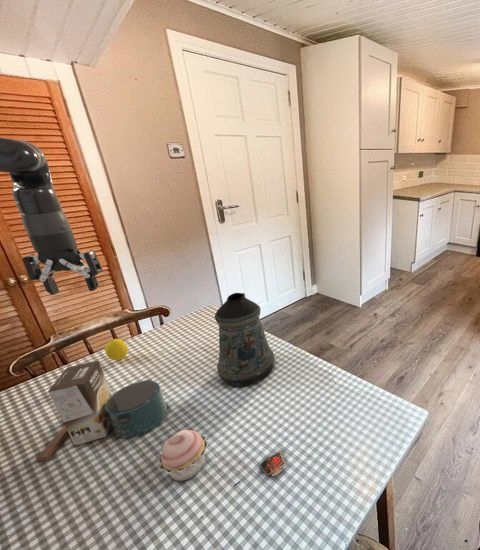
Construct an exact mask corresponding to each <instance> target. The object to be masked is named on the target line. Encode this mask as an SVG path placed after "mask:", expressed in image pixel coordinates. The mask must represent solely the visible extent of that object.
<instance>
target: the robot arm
mask: <svg viewBox="0 0 480 550" xmlns="http://www.w3.org/2000/svg"><path fill="white" fill-rule="evenodd" d="M0 172H1V173H6V174H8V175H9V177H10V180H11V182H12V184H13V188H12V189H11V193H12V199H13V200H14V203H15V205H16V207H17V210H18V213H19V214H20V217H21V222H22V225H23V228H24V229H25V232H26V235H27V236H28V239H29V241H30V244H31V246H32V248H33V250H34V252H35V253H36V254H34V253H32V254H28V255H25V256H24V257H22V262H23V264H24V267H25V270H26V273H27V275H28V278H29V279H30V280H31V281H40V282H41V283H42V285H43V287H44V289H45V291H46V292H47V293H48V294H49V295H50V296H53V295H56V294H58V293H60V290H59V287H58V285H57V282H56V279H55V278H53V276H54V274H55V273H58V272H62V271H63V272H70V271H73V272H74V273H77V274H80V275H81V276H83V277H84V280H85V282H86V285H87V289H88V291H89V292H94V291H96V290H97V289H98V288H99V282H98V280H97V277H96V276H97V275H99V274H100V273H101V272H103V268H102V265H101V263H100V261H99V258H98V256H97V254H96V252H95V250H93V249H91V250H88V251H83V252H81V251H80V250H79V248H78V243H77V241H76V238H75V235H74V233H73V230H72V228H71V225H70V222H69V219H68V217H67V216H66V214H65V212H64V210H63V208H62V205H61V202H60V199H59V198H58V195H57V193H56V190H55V188H54V183H53V178H52V174H51V170H50V166H49V163H48V161H47V157H46V156H45V154H44V152H43V151H42V149H40V148H39V147H38V146H37V145H35V144H34V143H32V142H29V141H27V140H22V139H15V138H7V137H0ZM82 259H83V260H82ZM84 261H86V263H85V262H84ZM40 263H41V264H43V265H44V266H43V268H41V265H40Z"/></svg>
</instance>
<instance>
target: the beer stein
mask: <svg viewBox="0 0 480 550" xmlns="http://www.w3.org/2000/svg"><path fill="white" fill-rule="evenodd" d="M261 311H262V310H261V307H260V305H259V304H257V302H254V301H252V300H250V299H248V298H247V297H246V294H245V292H234V293H232V294H230V295H228V296H227V298H226V301H225V302H224V303H223V304H221V306H219V308H218V309H217V310H216V312H215V314H214V320H215V321H216V323H217V324H218V342H219V352H218V353H219V354H218V362H217V365H216V367H217V374H218V375H219V378H220V379H221V381H222V382H223V384H224V385H226V386H229V387H233V388H246V387H249V386H253V385H257V384H259V383H260V382H261V381H263V380H264V379H266V378H267V377H269V376H270V375H271V373H272V371H273V369H274V366H275V365H274V363H275V353H274V351H273V350H272V348H271V347H270V345H269V342H268V340H267V335H266V333H265V330H264V327H263V324H262V321H261V319H260V315H261Z"/></svg>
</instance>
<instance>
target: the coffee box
mask: <svg viewBox="0 0 480 550" xmlns="http://www.w3.org/2000/svg"><path fill="white" fill-rule="evenodd" d="M47 393H48V394H49V396H50V399H51V400H52V403H53V405H54V406H55V409H56V411H57V412H58V414H59V417H60V418H61V421H62V422H63V426H64V425H65V427H66V429H67V431H68V433H69V434H68V435H69V437H70V439H71V441H72V443H73V445H74V446H79V445H82V444H85V443H90V442H92V441H96V440H100V439H103V438H106V437H107V436H108V434H109V432H110V430H111V427H112V423H111V421H110V419H109V417H108V414H107V412H106V410H105V405H106V402H107V401H108V400H109V398H110V397H111V396H112V395H113V393H112V391H111V388H110V385H109V384H108V381H107V378H106V376H105V373H104V370H103V368H102V365H101V364H100V360H94V361H90V362H85V363H84V362H83V363H80V364H77V365H73V366H72V365H71V366H68V367H66V369H64V371H63V372H62V373H61V374H60V376H58V378H57V380H55V382H54V383H53V385H52V386H51V387H50V388H49V389H48V390H47Z"/></svg>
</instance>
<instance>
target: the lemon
mask: <svg viewBox="0 0 480 550" xmlns="http://www.w3.org/2000/svg"><path fill="white" fill-rule="evenodd" d="M104 351H105V355H106V357H107V358H109V359H110V360H113V361H122V360H123V359H124V358H125V357H126V356H127V355H128V352H129V348H128V345H127V343H126V341H124V340H123V339H120V338H112V339H111V340H109V341H108V342H107V343H106V344H105V348H104Z"/></svg>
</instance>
